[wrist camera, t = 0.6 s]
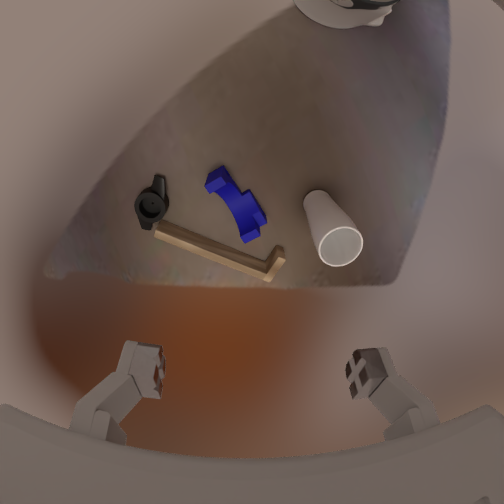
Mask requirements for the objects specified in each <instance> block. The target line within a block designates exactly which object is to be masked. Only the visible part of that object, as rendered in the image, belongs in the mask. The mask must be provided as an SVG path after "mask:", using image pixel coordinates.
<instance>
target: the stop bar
mask: <svg viewBox="0 0 504 504" xmlns="http://www.w3.org/2000/svg"><path fill="white" fill-rule="evenodd" d="M154 237H156V238H158V239H161V240H163V241H166V242H168V243H171V244H173V245H175V246H178V247H180V248H183V249H185V250H188V251H190V252H193V253H195V254H198V255H200V256H203V257H205V258H208V259H211V260H213V261H216V262H218V263H221V264H223V265H226V266H228V267H231V268H234V269H236V270H239V271H241V272H244V273H246V274H249V275H252V276H254V277H257V278H259V279H262V280H265V281H267V282H270V281H271V280H272V278H273V277H274V276H275V274H276V273H277V271H278V270H279V269H280V267H281V266H282V264H283V263H284V262H285V260H286V258H285V254H284V250H283V248H282V247H280V246H278V245H276V246H275V248H274V249H273V251H272V252H271V254H270V255H269V257H268V258H267V260H266V261H265V262H264V261H262V260H259V259H257V258H254V257H252V256H250V255H247V254H245V253H242V252H240V251H237V250H235V249H232V248H230V247H228V246H225V245H223V244H220V243H218V242H215V241H213V240H210V239H208V238H206V237H203V236H201V235H198V234H196V233H193V232H191V231H189V230H186V229H184V228H181V227H179V226H176V225H174V224H172V223H169V222H167V221H164V220H162V219H161V221H160V223H159V225H158V227H157V229H156V232H155V235H154Z"/></svg>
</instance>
